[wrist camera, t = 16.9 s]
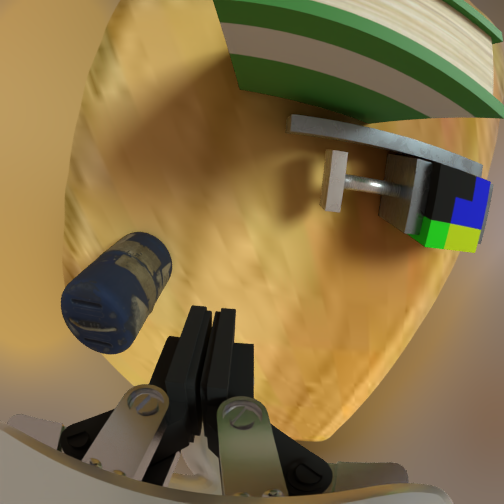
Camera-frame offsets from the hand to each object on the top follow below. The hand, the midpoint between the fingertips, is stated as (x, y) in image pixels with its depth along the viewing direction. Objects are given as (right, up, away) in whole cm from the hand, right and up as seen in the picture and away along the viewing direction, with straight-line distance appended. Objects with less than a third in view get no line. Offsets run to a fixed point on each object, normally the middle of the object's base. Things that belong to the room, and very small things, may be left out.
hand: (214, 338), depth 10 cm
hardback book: (+9, +26, +19) cm, 34 cm away
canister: (-15, +2, +29) cm, 33 cm away
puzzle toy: (+27, +12, +25) cm, 39 cm away
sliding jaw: (+16, +13, +24) cm, 32 cm away
